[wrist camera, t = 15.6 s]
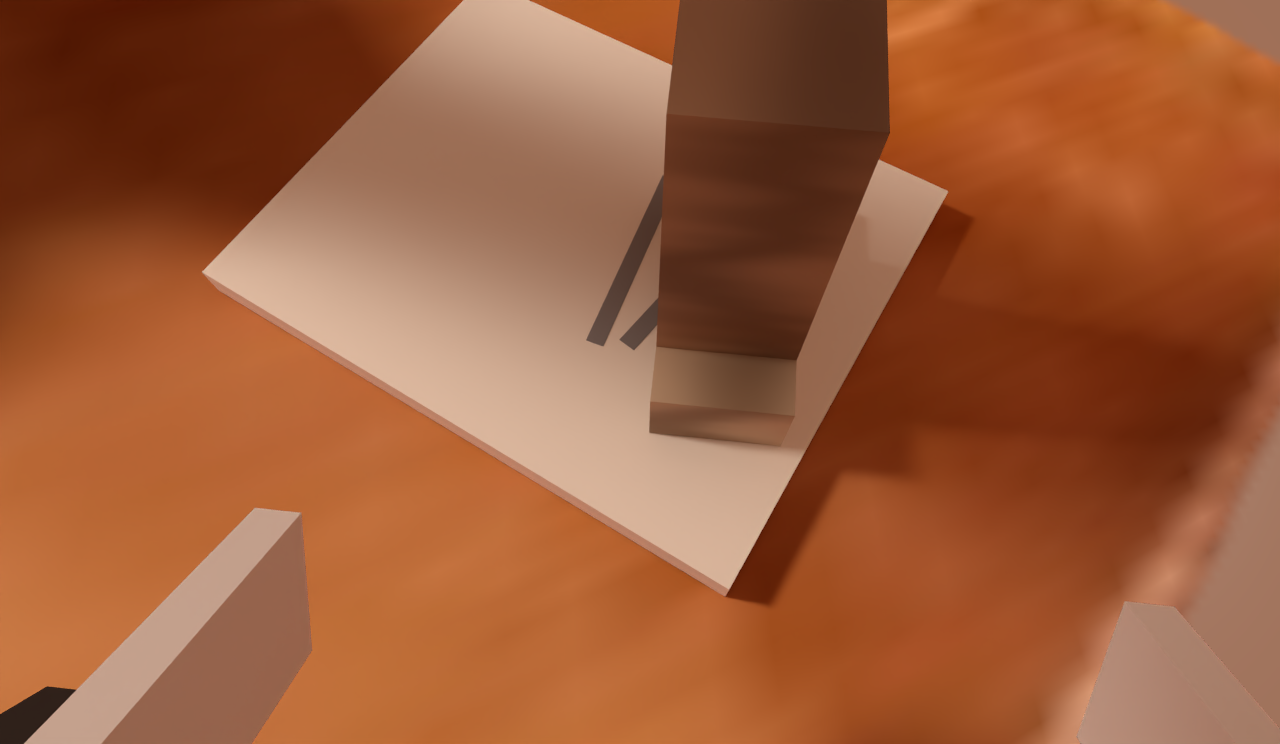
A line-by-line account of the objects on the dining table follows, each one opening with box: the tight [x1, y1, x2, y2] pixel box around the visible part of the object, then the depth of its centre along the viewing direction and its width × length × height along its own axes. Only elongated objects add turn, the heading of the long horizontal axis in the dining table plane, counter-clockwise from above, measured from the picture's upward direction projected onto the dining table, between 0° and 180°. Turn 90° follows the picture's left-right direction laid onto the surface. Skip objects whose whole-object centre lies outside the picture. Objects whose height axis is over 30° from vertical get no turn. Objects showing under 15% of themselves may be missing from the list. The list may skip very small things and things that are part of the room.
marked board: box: [202, 0, 948, 596], centre depth 29 cm, size 20×16×1 cm
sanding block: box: [649, 0, 890, 446], centre depth 21 cm, size 4×9×12 cm, turn 174°
